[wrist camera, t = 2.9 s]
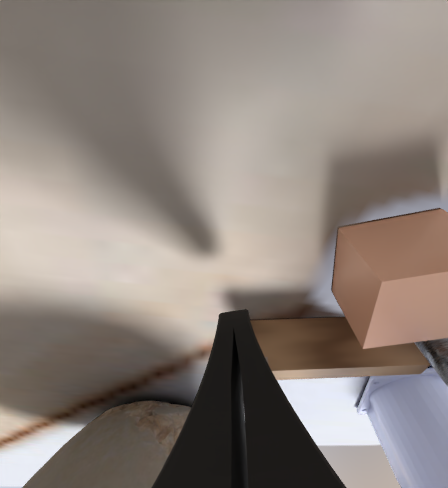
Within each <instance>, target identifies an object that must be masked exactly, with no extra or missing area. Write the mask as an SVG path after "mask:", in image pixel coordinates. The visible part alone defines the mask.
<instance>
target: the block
mask: <svg viewBox="0 0 448 488" xmlns="http://www.w3.org/2000/svg"><path fill="white" fill-rule="evenodd" d="M331 291H332V293H333V295H334V296H335V298H336V300H337V302H338V304H339V306H340V308H341V309H342V311H343V313H344V315H345V317H346V319H347V321H348V323H349V324H350V326H351V328H352V330H353V332H354V334H355V336H356V337H357V339H358V341H359V343H360V345H361V347H362V349H367V348H375V347H382V346H390V345H397V344H405V343H413V342H420V341H428V340H436V339H443V338H448V212H446V211H444V210H443V209H441V208H435V209H430V210H424V211H419V212H414V213H408V214H403V215H397V216H393V217H387V218H381V219H376V220H371V221H365V222H360V223H357V224H356V225H352V226H347V227H341V228H339V229H338V238H337V243H336V246H335V256H334V266H333V276H332V286H331Z"/></svg>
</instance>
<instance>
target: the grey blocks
mask: <svg viewBox="0 0 448 488" xmlns="http://www.w3.org/2000/svg"><path fill="white" fill-rule="evenodd" d="M414 343H415V344H416V345H417V347H418V348H419V349H420V351H421V352H422V353H423V355H424V356H425V357H426V359H427V360H428V361H429V363H430V364H431V365H432V367H433V368H434V369H435V371H436V372H437V373H438V375H439V376H440V377H441V379H442V380H443V381H444V383H445V384H446V385H447V387H448V338H443V339H436V340H428V341H420V342H414Z"/></svg>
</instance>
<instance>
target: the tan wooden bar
mask: <svg viewBox="0 0 448 488" xmlns="http://www.w3.org/2000/svg"><path fill="white" fill-rule="evenodd" d="M250 321H251V325H252V328H253V330H254V333H255V336H256V338H257V341H258V343H259V345H260V348H261V350H262V352H263V354H264V357H265V359H266V361H267V363H268V365H269V367H270V369H271V371H272V372H273V374H274V376H275V378H276V380H287V379H312V378H337V377H362V376H387V375H412V374H421V373H422V372H424V371H425V370H426V369H427V368H428V367H429V366H430V365H431V364H430V363H429V362H428V360H427V359H426V358H425V356H424V355H423V354H422V352H421V351H420V350H419V348H418V347H417V346H416V344H415V343H414V342H413V343H405V344H397V345H390V346H382V347H375V348H367V349H362V347H361V345H360V343H359V341H358V339H357V337H356V336H355V334H354V332H353V330H352V328H351V326H350V324H349V323H348V321H347V319H346V317H330V318H303V319H276V320H250Z"/></svg>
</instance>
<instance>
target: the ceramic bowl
mask: <svg viewBox="0 0 448 488" xmlns="http://www.w3.org/2000/svg"><path fill="white" fill-rule="evenodd" d="M190 410H191V407H189V406H184V405H179V404H169V403H168V402H159V401H138V402H133V403H131V404H123V405H120V406H117V407H114V408H111V409H109V410H107V411H105V412H104V413H103V414H102V415H100V416H99V417H97V418H96V419H94V420H93V421H92V422H90V423H89V424H88V425H87V426H85V427H84V428H83V429H82V430H81V431H79V432H78V433H77V434H76V435H75V436H74V437H72V438H71V439H70V440H69V441H68V442H67V443H66V444H65V445H63V446H62V447H61V448H60V449H59V450H58V451H57V452H56V453H55V455H54V456H53V457H52V458H51V459H50V460H49V461H48V462H47V463H46V464H45V465H44V466H43V467H42V468H41V469H40V470H39V471H38V472H37V473H36V474H35V475H34V476H33V477H32V478H31V479H30V480H29V481H28V482H27V483H26V484H25V485H24V486H23V488H152V486H153V484H154V482H155V481H156V479H157V477H158V475H159V473H160V471H161V470H162V468H163V466H164V464H165V462H166V460H167V458H168V456H169V454H170V452H171V450H172V448H173V446H174V444H175V442H176V440H177V438H178V436H179V434H180V432H181V430H182V428H183V425H184V423H185V421H186V419H187V416H188V414H189V412H190Z"/></svg>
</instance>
